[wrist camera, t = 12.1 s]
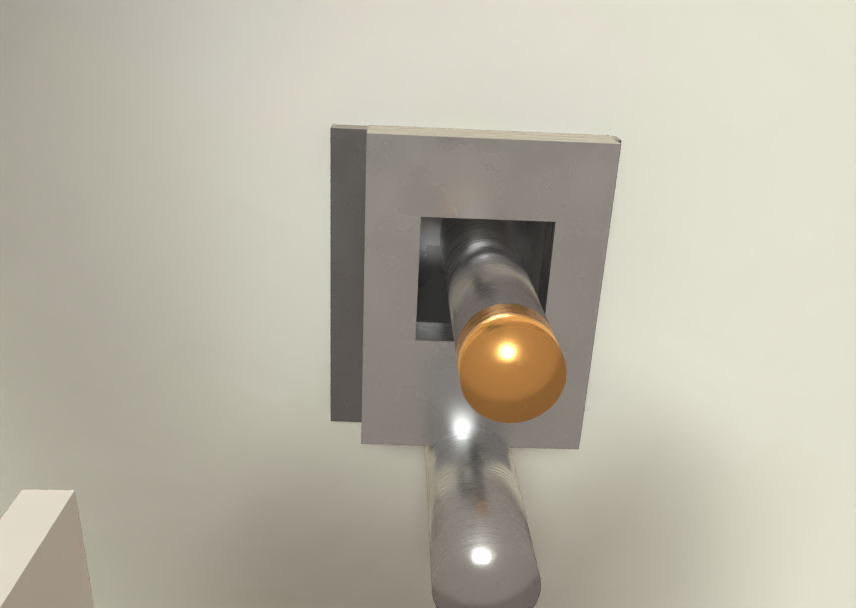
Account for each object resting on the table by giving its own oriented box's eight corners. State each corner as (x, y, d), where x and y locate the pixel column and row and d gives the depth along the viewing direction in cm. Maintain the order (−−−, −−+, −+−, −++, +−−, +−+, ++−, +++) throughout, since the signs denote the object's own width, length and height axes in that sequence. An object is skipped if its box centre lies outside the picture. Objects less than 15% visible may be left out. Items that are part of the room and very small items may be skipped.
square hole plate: (332, 103, 37) (285, 176, 22) (618, 116, 38) (757, 195, 23) (332, 412, 44) (295, 628, 29) (577, 418, 44) (665, 633, 29)
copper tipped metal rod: (441, 200, 38) (463, 325, 24) (509, 202, 38) (572, 329, 24) (437, 265, 39) (456, 421, 25) (503, 267, 40) (560, 424, 25)
